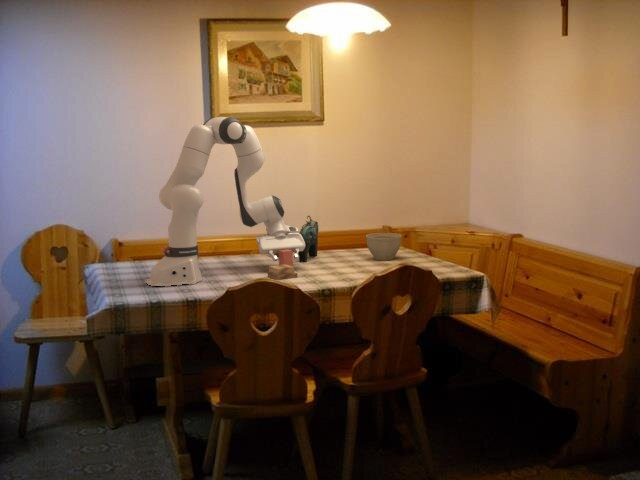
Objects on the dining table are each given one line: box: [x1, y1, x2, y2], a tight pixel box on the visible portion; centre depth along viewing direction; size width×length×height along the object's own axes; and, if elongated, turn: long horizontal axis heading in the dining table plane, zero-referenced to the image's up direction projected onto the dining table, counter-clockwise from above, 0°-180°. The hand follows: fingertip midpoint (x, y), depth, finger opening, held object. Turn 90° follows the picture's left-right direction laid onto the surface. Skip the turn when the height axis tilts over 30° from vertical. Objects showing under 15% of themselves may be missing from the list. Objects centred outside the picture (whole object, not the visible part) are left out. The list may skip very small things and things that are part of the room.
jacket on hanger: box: [298, 215, 319, 263], centre depth 353 cm, size 20×6×20 cm, turn 162°
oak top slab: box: [268, 264, 295, 275], centre depth 313 cm, size 8×8×2 cm
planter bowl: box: [365, 232, 402, 261], centre depth 350 cm, size 16×16×11 cm
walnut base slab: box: [267, 271, 298, 281], centre depth 313 cm, size 9×9×2 cm
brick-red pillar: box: [278, 249, 294, 267], centre depth 324 cm, size 4×4×9 cm
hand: (286, 259), depth 324 cm, fingers open, 8 cm apart
